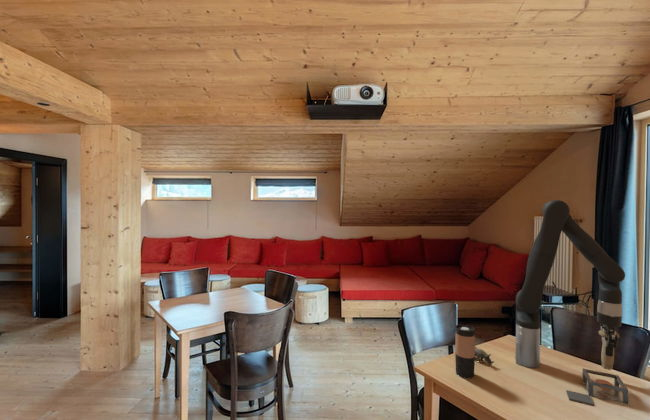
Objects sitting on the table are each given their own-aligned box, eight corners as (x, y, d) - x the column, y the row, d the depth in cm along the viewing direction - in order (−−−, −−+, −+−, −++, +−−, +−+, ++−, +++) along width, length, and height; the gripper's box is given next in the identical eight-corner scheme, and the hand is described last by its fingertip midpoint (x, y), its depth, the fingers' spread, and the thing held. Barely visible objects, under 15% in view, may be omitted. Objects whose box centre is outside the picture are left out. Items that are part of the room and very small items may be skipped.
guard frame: (589, 395, 118) (589, 381, 118) (582, 381, 128) (582, 368, 128) (628, 404, 113) (628, 390, 113) (618, 388, 123) (618, 375, 122)
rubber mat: (569, 400, 116) (569, 398, 116) (566, 391, 121) (566, 390, 121) (593, 405, 112) (593, 404, 112) (589, 396, 117) (589, 395, 117)
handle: (620, 372, 126) (622, 335, 126) (602, 370, 127) (604, 334, 127) (611, 365, 131) (613, 330, 130) (594, 364, 132) (596, 329, 131)
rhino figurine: (490, 369, 137) (490, 356, 137) (464, 356, 150) (464, 343, 149) (496, 367, 139) (496, 354, 139) (470, 354, 151) (470, 341, 151)
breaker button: (597, 388, 119) (597, 384, 119) (593, 381, 124) (593, 378, 124) (614, 391, 117) (614, 388, 117) (610, 385, 121) (610, 381, 121)
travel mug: (466, 380, 128) (466, 332, 128) (451, 372, 135) (451, 326, 135) (478, 376, 132) (479, 329, 132) (463, 367, 139) (463, 323, 138)
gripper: (593, 305, 136) (591, 344, 137) (602, 315, 124) (600, 358, 125) (615, 309, 133) (613, 348, 133) (627, 319, 120) (625, 363, 121)
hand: (607, 353), depth 129 cm, fingers closed on handle, 4 cm apart
